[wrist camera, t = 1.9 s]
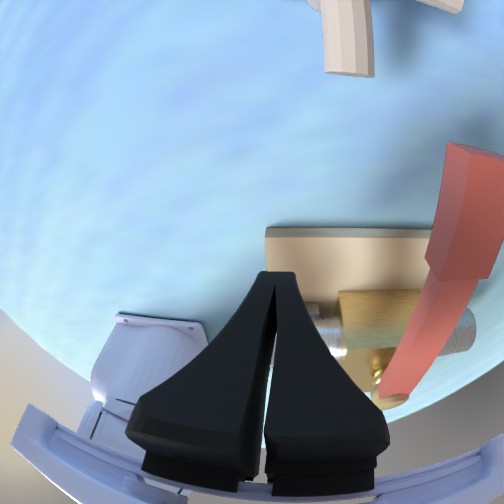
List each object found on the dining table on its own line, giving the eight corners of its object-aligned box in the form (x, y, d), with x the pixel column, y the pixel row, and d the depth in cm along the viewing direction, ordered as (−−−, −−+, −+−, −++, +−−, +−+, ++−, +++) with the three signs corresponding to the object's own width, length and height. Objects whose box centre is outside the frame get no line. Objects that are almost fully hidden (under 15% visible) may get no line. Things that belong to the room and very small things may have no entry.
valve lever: (399, 392, 14) (403, 409, 13) (364, 396, 15) (366, 414, 14) (498, 153, 6) (521, 167, 5) (446, 141, 6) (470, 153, 5)
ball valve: (271, 335, 22) (263, 406, 17) (268, 285, 19) (259, 365, 14) (441, 327, 20) (462, 386, 14) (464, 280, 17) (497, 342, 11)
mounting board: (273, 357, 25) (272, 367, 24) (266, 227, 17) (264, 237, 16) (424, 349, 23) (427, 358, 22) (476, 231, 15) (484, 240, 14)
